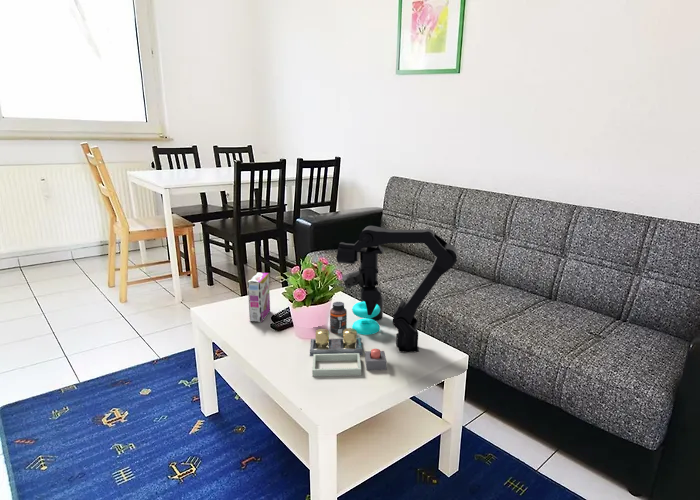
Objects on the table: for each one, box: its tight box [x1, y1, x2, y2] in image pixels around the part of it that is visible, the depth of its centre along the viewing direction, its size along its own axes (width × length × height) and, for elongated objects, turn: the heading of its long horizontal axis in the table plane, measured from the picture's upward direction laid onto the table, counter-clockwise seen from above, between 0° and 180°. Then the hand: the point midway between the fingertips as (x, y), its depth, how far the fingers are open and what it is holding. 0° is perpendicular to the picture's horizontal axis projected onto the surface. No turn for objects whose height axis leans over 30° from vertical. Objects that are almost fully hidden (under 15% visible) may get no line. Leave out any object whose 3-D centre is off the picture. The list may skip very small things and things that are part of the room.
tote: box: [311, 353, 362, 377], centre depth 136 cm, size 14×9×3 cm, turn 92°
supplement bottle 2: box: [367, 286, 384, 322], centre depth 171 cm, size 7×7×12 cm
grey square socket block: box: [364, 350, 387, 371], centre depth 138 cm, size 6×6×4 cm
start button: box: [370, 348, 381, 359], centre depth 137 cm, size 3×3×3 cm
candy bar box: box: [247, 271, 271, 323], centre depth 172 cm, size 11×5×16 cm, turn 172°
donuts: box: [351, 300, 381, 336], centre depth 161 cm, size 10×10×10 cm
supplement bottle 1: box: [329, 301, 348, 335], centre depth 159 cm, size 6×6×11 cm
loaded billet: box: [315, 328, 330, 349], centre depth 147 cm, size 4×4×6 cm
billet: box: [342, 327, 358, 348], centre depth 147 cm, size 4×4×6 cm
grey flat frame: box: [309, 337, 363, 357], centre depth 148 cm, size 17×10×2 cm, turn 92°
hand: (368, 309), depth 150 cm, fingers open, 9 cm apart
